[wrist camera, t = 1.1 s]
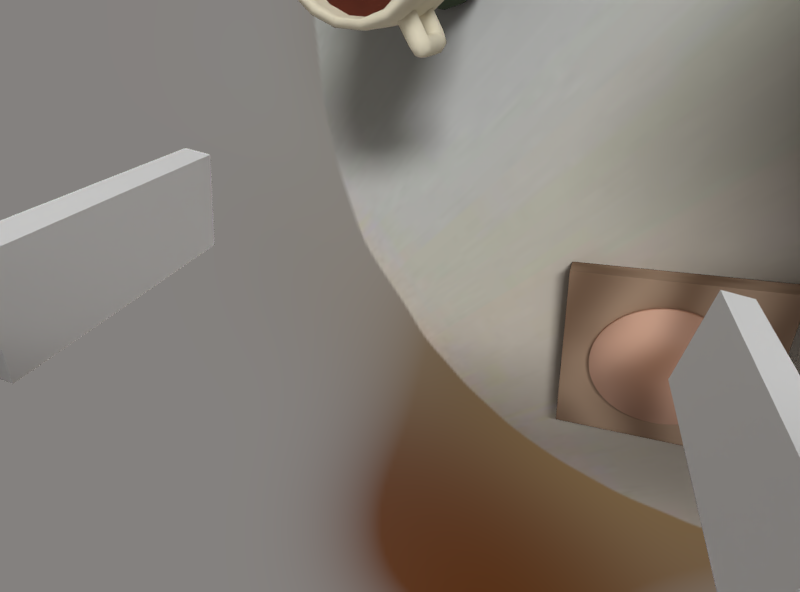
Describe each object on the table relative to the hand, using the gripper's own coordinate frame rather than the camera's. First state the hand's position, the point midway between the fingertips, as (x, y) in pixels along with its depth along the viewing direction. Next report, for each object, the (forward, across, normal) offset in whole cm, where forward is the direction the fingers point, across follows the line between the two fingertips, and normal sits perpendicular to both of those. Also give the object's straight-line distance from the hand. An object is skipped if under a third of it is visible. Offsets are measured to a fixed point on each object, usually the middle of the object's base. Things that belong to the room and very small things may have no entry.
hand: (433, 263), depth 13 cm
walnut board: (+24, +15, -15) cm, 32 cm away
